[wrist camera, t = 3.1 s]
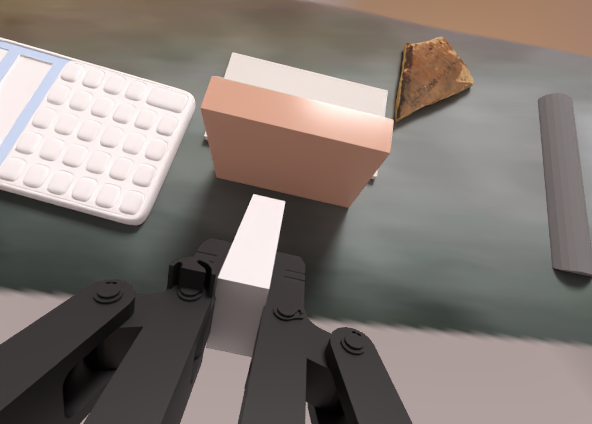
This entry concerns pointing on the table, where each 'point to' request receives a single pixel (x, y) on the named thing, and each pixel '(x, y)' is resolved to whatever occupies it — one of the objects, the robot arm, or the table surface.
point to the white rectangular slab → (306, 85)
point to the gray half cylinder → (564, 186)
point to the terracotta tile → (292, 142)
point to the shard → (429, 76)
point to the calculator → (86, 133)
